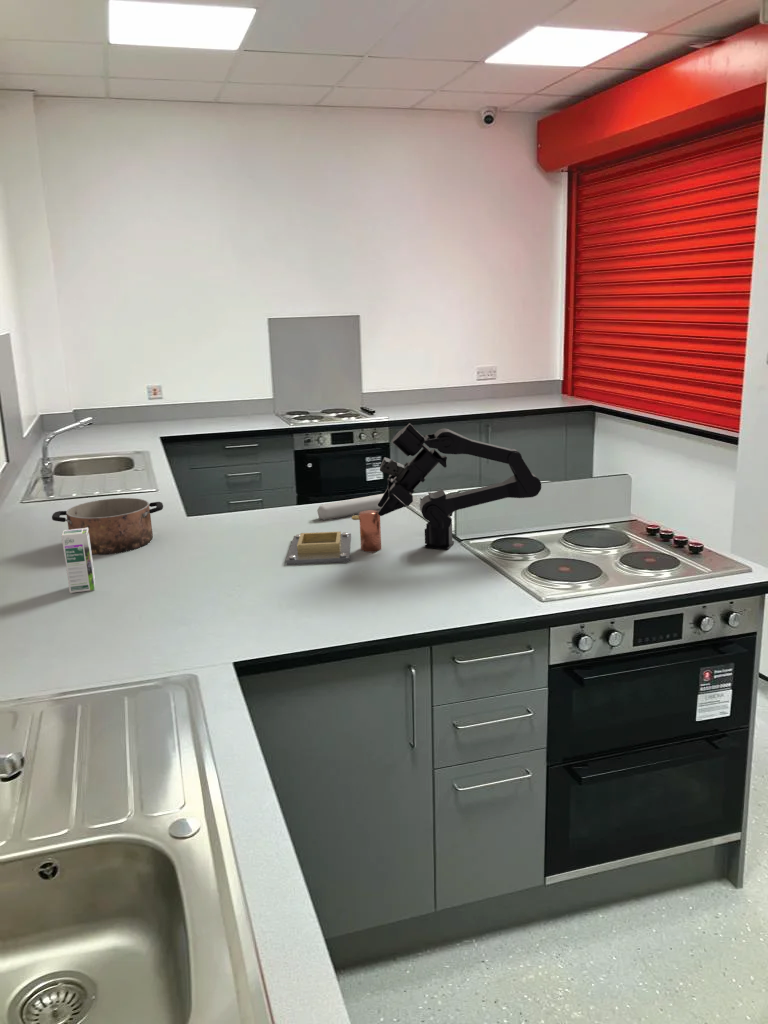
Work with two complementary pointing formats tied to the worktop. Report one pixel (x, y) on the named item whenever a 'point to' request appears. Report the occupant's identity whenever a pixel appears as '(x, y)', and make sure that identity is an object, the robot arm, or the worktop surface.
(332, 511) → the tube
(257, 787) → the worktop surface
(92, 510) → the cooking pot
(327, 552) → the gray mounting plate
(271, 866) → the worktop surface
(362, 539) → the copper cylinder
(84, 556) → the syrup box
